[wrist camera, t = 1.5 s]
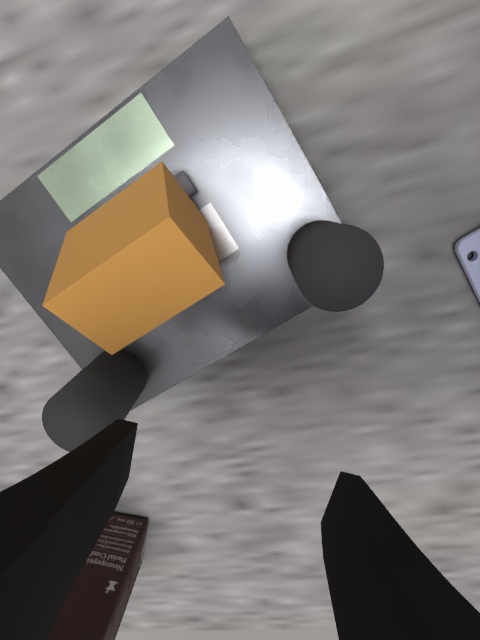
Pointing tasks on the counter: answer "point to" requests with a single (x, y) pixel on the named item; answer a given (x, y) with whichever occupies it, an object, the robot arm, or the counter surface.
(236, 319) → the grey flat block
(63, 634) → the box
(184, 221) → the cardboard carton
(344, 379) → the counter surface
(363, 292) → the post
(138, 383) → the post
